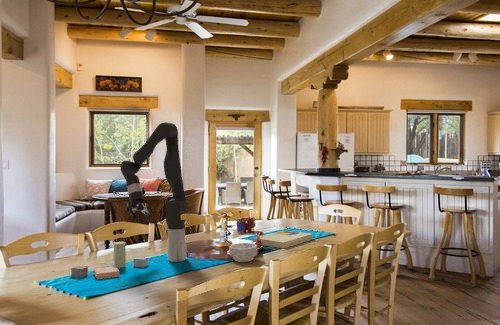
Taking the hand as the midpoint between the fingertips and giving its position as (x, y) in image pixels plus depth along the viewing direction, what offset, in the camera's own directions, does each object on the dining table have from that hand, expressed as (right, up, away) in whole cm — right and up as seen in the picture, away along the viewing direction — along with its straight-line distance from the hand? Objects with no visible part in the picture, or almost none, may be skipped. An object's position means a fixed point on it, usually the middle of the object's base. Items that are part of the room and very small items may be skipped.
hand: (141, 220), depth 222 cm
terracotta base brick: (-9, -22, -27) cm, 36 cm away
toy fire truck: (+64, -22, +30) cm, 74 cm away
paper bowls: (+55, -22, +1) cm, 59 cm away
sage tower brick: (-9, -22, -10) cm, 26 cm away
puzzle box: (+81, -22, +51) cm, 98 cm away
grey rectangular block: (-22, -22, -27) cm, 42 cm away
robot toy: (+56, -21, +88) cm, 106 cm away
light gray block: (+2, -22, -10) cm, 24 cm away
